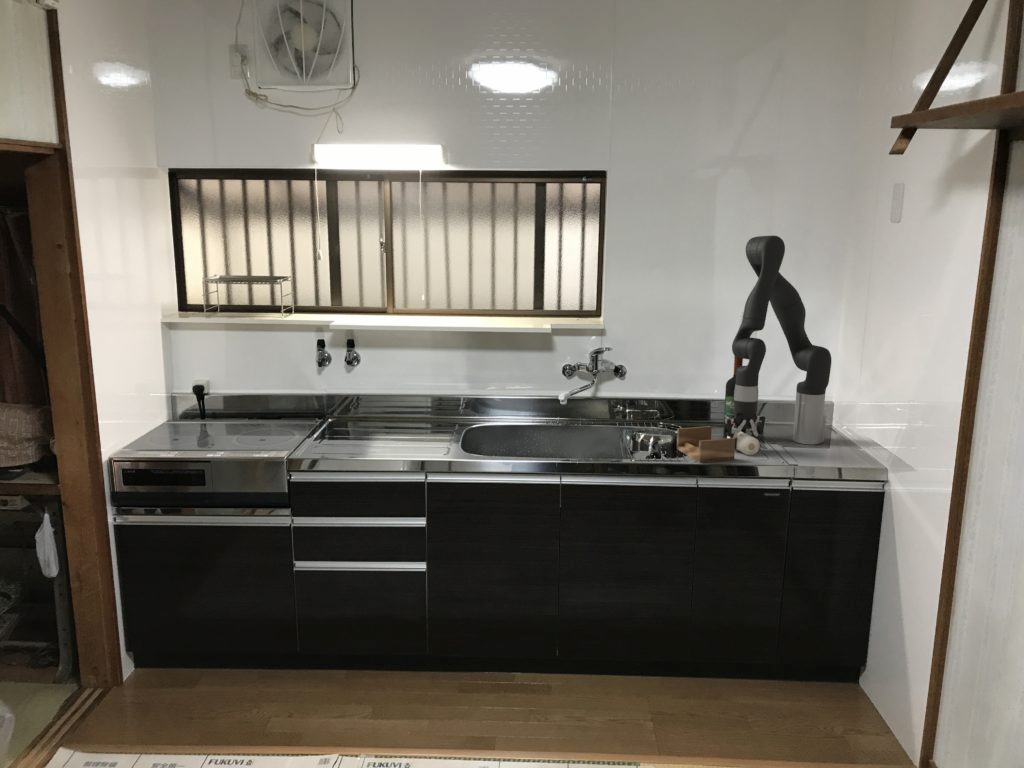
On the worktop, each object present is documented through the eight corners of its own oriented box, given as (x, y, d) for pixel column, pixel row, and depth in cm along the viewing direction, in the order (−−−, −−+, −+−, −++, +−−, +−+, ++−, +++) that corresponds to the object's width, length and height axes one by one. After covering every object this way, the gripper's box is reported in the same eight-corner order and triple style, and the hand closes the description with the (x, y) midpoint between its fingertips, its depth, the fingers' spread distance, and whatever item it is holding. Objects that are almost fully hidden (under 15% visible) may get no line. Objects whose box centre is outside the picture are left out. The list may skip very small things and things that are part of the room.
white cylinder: (723, 440, 252) (733, 426, 252) (734, 450, 254) (745, 436, 254) (740, 449, 242) (751, 434, 242) (752, 459, 244) (763, 444, 244)
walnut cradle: (676, 448, 252) (677, 428, 250) (709, 446, 255) (710, 425, 253) (699, 463, 237) (700, 441, 235) (734, 459, 239) (735, 438, 238)
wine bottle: (748, 437, 265) (752, 352, 259) (742, 442, 258) (747, 356, 252) (726, 434, 268) (730, 351, 262) (720, 439, 262) (724, 354, 256)
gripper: (759, 394, 251) (756, 442, 254) (720, 397, 247) (717, 446, 251) (772, 399, 243) (768, 449, 247) (732, 402, 240) (729, 452, 243)
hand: (743, 447), depth 249 cm, fingers open, 6 cm apart
